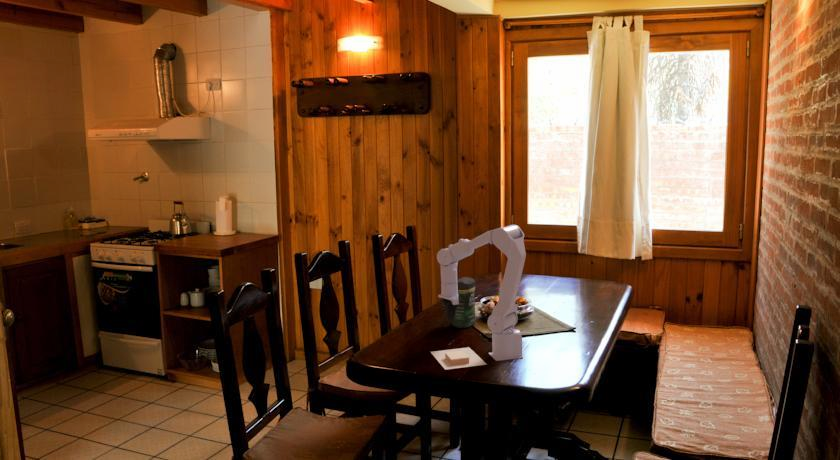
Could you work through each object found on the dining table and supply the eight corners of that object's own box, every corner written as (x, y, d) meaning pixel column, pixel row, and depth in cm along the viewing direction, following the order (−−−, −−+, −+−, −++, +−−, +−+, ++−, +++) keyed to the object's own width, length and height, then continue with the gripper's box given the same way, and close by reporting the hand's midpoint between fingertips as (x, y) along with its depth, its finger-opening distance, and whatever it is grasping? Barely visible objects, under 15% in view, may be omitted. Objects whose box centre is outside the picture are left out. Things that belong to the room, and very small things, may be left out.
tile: (462, 350, 224) (469, 357, 217) (462, 356, 224) (469, 363, 217) (445, 352, 222) (451, 359, 216) (445, 358, 223) (451, 365, 216)
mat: (469, 348, 233) (469, 347, 233) (486, 365, 216) (486, 364, 216) (430, 353, 230) (430, 351, 230) (445, 370, 212) (445, 369, 212)
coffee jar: (467, 329, 255) (466, 281, 252) (449, 327, 259) (447, 280, 256) (479, 322, 263) (478, 276, 260) (461, 320, 267) (460, 274, 264)
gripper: (432, 278, 239) (433, 315, 241) (444, 287, 225) (445, 326, 227) (451, 276, 241) (452, 313, 243) (464, 285, 227) (465, 324, 229)
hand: (450, 319), depth 235 cm, fingers closed
